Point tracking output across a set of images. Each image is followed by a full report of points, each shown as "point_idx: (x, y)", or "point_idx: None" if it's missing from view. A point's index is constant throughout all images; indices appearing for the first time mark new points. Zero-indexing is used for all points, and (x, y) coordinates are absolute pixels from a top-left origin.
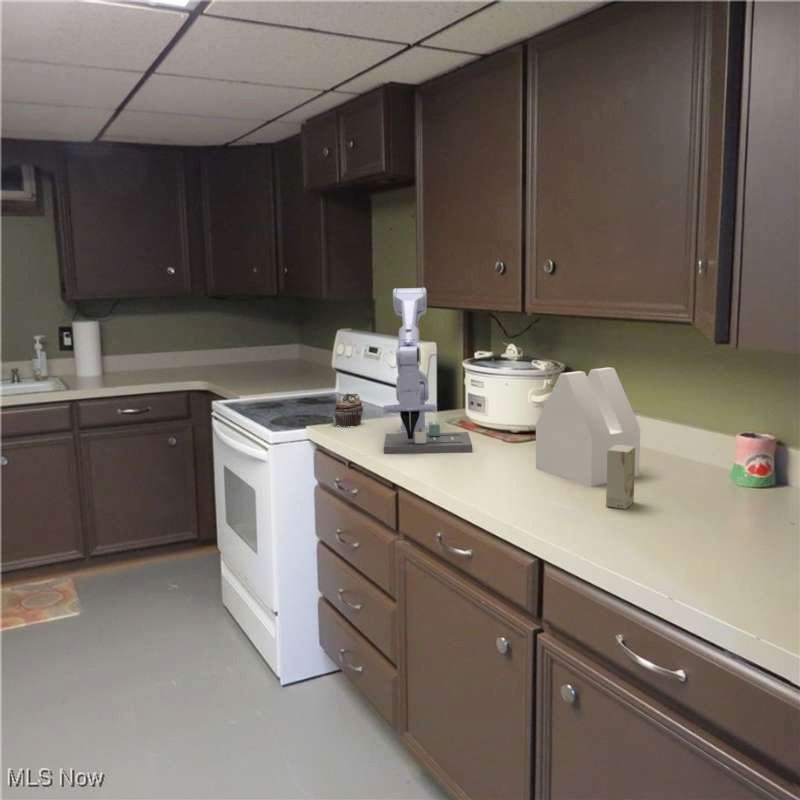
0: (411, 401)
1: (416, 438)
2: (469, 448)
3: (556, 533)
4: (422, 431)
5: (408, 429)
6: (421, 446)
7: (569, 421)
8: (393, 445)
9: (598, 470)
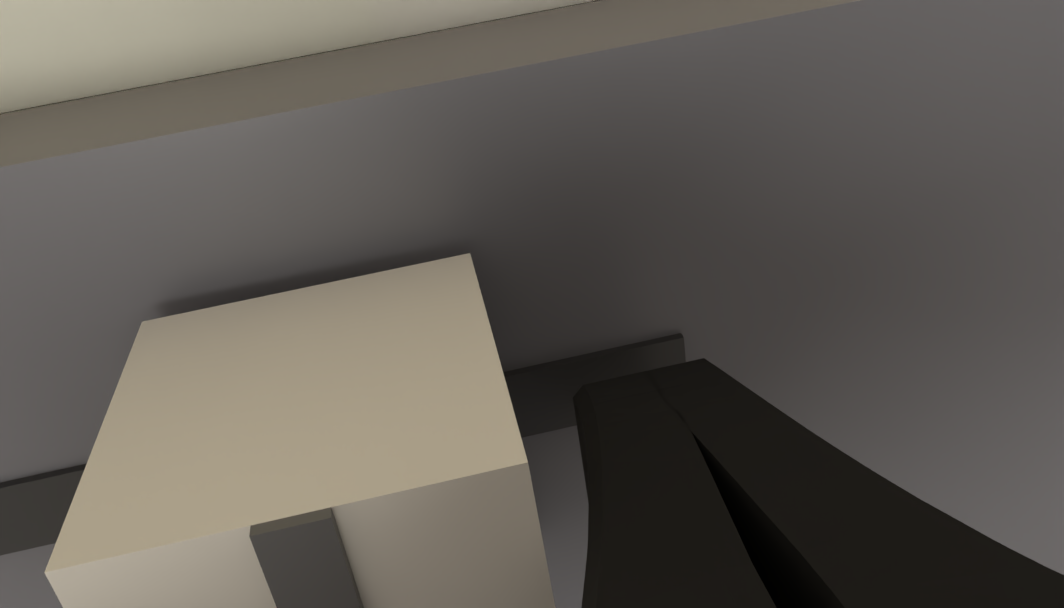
0: None
1: (443, 334)
2: None
3: None
4: (227, 600)
5: (837, 524)
6: (243, 111)
7: None
8: (1047, 99)
9: None
